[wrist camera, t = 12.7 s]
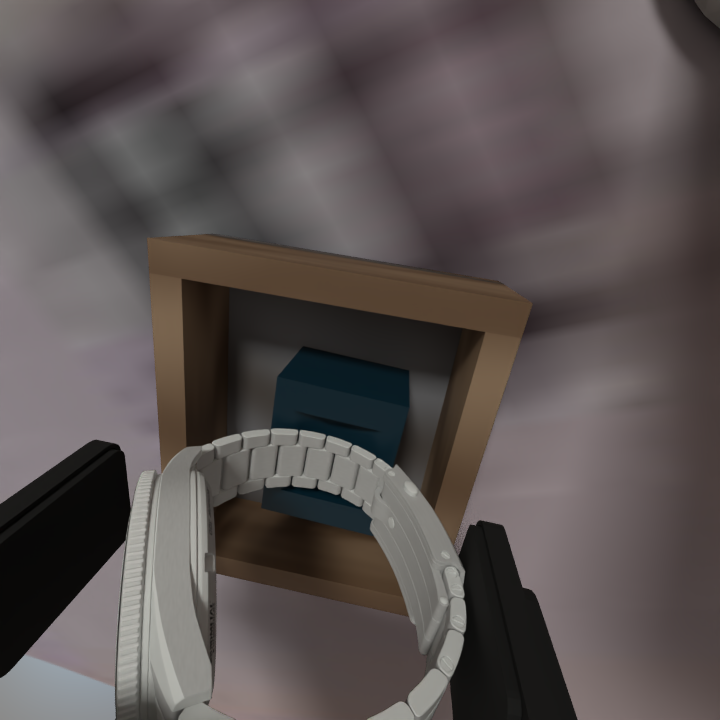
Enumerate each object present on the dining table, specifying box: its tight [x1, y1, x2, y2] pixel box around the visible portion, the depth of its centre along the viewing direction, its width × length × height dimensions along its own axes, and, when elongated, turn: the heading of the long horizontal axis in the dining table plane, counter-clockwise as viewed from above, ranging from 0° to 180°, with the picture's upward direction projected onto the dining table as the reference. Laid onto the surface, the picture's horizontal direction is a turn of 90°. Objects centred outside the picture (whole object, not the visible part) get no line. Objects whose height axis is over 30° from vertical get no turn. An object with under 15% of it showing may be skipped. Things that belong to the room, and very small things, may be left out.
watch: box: [115, 346, 466, 720], centre depth 10 cm, size 6×8×11 cm
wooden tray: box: [147, 234, 533, 617], centre depth 15 cm, size 13×11×4 cm
